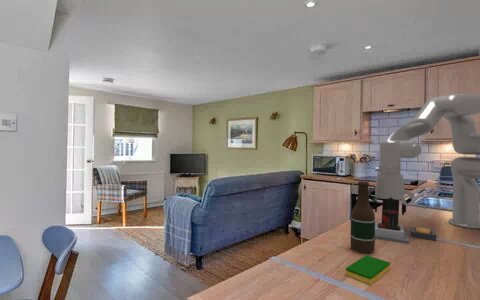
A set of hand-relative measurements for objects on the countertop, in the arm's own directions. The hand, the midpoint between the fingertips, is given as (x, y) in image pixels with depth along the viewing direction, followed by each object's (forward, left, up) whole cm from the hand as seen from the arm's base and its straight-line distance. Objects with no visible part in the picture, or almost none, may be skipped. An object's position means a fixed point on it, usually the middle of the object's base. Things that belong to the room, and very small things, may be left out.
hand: (389, 212), depth 108 cm
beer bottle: (+22, -8, -9) cm, 25 cm away
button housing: (-6, +12, -9) cm, 16 cm away
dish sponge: (+39, -5, -10) cm, 41 cm away
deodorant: (0, 0, -8) cm, 8 cm away
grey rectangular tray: (0, 0, -9) cm, 9 cm away
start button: (-6, +12, -9) cm, 16 cm away
